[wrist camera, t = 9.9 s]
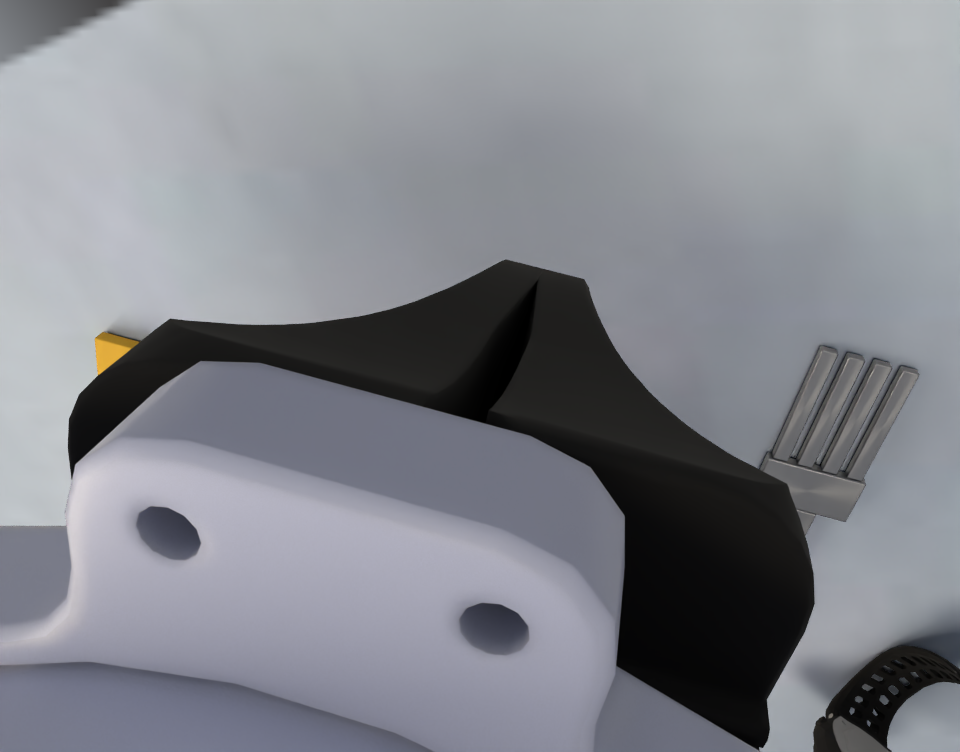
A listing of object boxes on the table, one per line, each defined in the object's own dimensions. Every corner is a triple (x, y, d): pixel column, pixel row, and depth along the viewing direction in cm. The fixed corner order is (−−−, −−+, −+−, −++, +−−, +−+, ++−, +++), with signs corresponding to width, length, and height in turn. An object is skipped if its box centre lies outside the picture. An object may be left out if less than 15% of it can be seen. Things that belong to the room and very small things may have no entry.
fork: (692, 793, 26) (692, 808, 26) (622, 772, 26) (621, 786, 26) (922, 370, 18) (927, 382, 17) (815, 344, 18) (819, 354, 17)
